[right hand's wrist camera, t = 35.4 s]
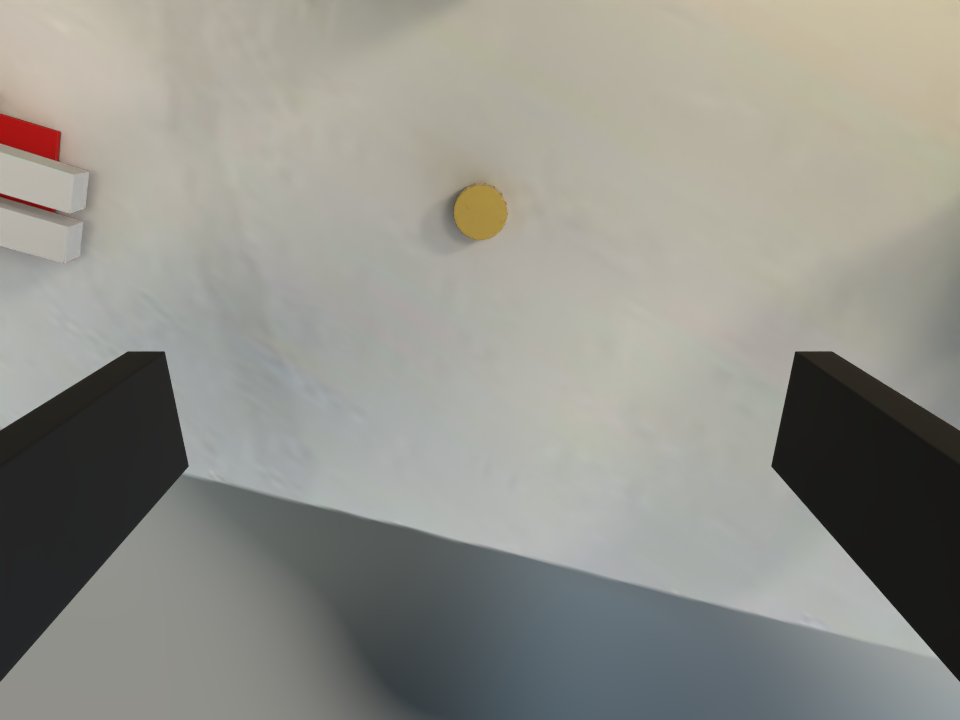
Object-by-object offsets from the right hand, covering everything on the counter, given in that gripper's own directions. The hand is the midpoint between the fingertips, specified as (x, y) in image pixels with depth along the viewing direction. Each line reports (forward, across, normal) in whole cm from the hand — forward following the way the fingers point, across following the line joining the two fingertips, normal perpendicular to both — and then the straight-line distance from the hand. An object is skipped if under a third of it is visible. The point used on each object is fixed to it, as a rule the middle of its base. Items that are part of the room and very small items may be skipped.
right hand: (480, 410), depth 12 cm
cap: (+33, 0, 0) cm, 33 cm away
